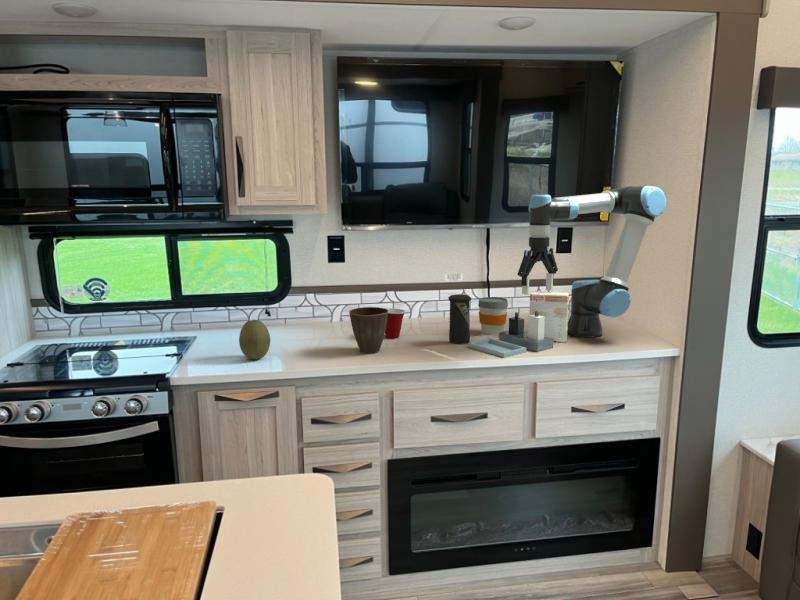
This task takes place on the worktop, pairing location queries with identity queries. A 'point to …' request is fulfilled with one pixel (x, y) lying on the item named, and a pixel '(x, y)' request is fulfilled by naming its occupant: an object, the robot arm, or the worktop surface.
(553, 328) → the coffeecake box
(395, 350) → the worktop surface
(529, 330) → the plug
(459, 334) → the container
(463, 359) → the worktop surface
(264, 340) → the fruit
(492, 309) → the reusable coffee cup
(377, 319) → the plant pot
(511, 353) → the tray
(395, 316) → the plastic cup
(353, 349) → the worktop surface
